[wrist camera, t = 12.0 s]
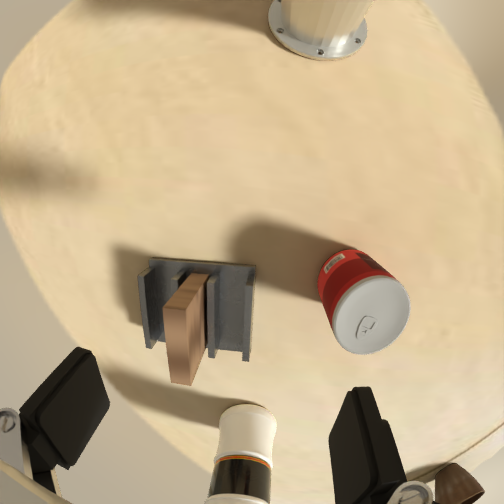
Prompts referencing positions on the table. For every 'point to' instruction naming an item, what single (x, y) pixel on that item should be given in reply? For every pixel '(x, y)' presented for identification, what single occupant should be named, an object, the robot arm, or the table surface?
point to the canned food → (362, 302)
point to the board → (186, 328)
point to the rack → (218, 301)
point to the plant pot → (456, 486)
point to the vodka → (243, 456)
